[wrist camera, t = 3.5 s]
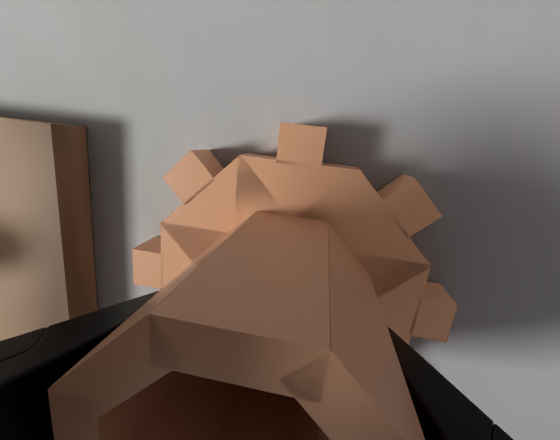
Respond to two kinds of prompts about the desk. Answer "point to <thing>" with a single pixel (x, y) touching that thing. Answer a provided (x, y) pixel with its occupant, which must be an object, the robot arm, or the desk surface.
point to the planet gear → (267, 308)
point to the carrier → (44, 226)
